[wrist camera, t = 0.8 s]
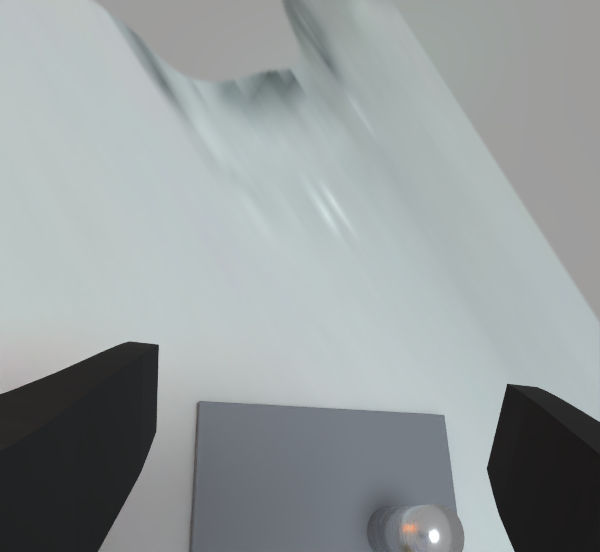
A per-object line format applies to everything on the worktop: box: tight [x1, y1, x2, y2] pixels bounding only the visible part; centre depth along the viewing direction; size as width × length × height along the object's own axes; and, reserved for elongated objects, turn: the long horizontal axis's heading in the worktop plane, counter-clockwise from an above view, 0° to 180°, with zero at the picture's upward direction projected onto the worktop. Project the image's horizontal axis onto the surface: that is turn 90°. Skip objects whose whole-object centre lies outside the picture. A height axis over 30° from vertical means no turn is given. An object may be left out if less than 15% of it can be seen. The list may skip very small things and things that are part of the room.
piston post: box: [367, 504, 464, 552], centre depth 23 cm, size 2×2×4 cm
